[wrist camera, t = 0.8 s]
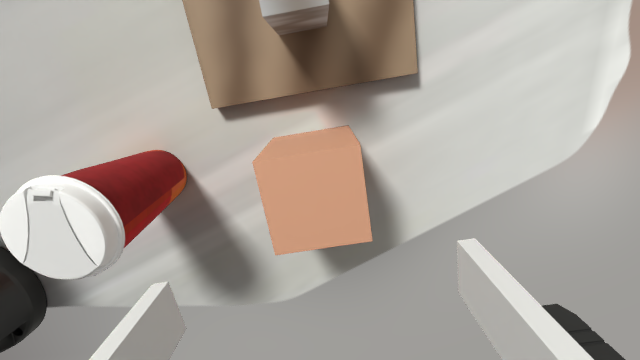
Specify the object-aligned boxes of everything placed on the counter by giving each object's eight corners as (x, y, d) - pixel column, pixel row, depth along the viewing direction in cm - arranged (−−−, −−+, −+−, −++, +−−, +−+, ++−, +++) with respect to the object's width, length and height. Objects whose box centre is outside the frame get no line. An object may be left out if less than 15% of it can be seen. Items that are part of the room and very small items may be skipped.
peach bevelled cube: (288, 206, 34) (275, 255, 24) (273, 137, 31) (252, 161, 22) (357, 196, 33) (372, 241, 24) (348, 125, 31) (360, 144, 21)
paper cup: (120, 138, 31) (-27, 179, 18) (193, 141, 31) (100, 184, 18) (132, 206, 34) (10, 286, 21) (199, 208, 34) (121, 290, 21)
